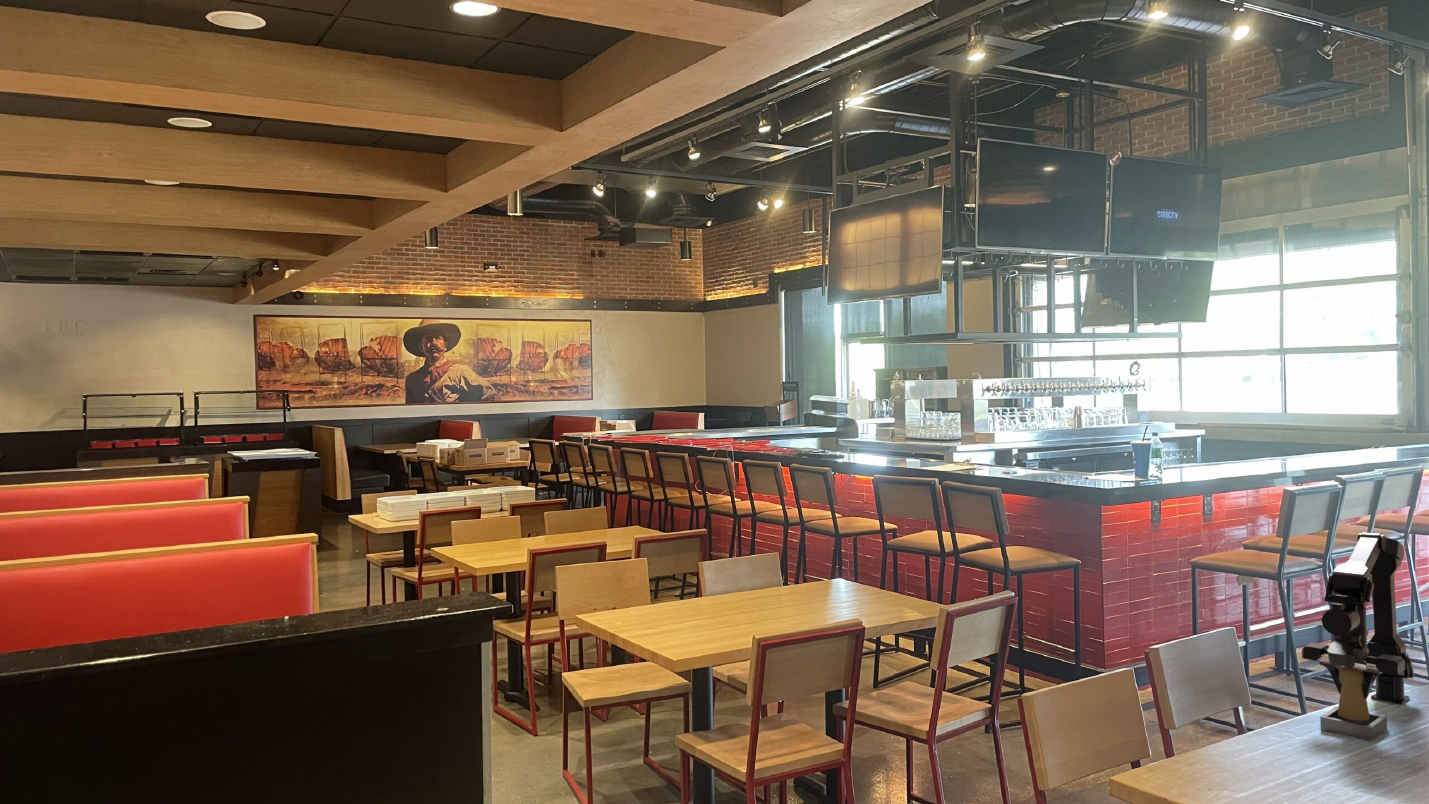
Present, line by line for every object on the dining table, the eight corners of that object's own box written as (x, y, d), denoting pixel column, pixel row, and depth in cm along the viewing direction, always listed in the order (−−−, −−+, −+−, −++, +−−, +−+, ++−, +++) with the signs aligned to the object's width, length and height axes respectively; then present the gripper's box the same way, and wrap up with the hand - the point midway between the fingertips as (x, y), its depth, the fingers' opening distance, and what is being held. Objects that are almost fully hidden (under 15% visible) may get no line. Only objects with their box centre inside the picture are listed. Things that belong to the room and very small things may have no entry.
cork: (1331, 714, 218) (1330, 665, 218) (1348, 709, 221) (1347, 661, 221) (1359, 722, 213) (1357, 672, 213) (1376, 717, 216) (1374, 668, 215)
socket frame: (1336, 719, 224) (1336, 706, 224) (1387, 729, 216) (1386, 716, 216) (1320, 729, 218) (1320, 716, 218) (1372, 741, 210) (1371, 727, 210)
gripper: (1291, 626, 219) (1293, 695, 219) (1388, 641, 204) (1390, 714, 205) (1310, 617, 226) (1311, 683, 226) (1405, 631, 211) (1406, 702, 212)
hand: (1353, 695), depth 217 cm, fingers closed on cork, 4 cm apart
